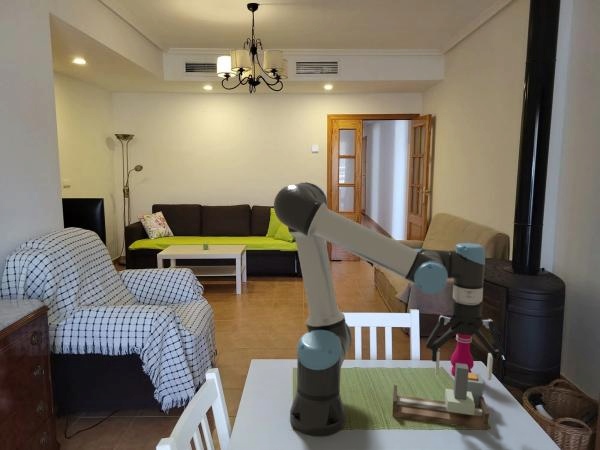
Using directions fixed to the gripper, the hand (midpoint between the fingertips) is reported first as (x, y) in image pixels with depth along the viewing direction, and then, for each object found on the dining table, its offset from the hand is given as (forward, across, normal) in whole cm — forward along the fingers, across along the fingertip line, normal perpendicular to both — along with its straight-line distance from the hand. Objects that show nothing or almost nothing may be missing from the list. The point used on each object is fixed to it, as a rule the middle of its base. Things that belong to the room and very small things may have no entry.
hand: (462, 375), depth 122 cm
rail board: (+12, -6, 0) cm, 14 cm away
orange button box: (+12, +4, +8) cm, 15 cm away
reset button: (+10, +4, +8) cm, 14 cm away
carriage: (+9, 0, 0) cm, 9 cm away
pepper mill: (+13, +4, +26) cm, 30 cm away
